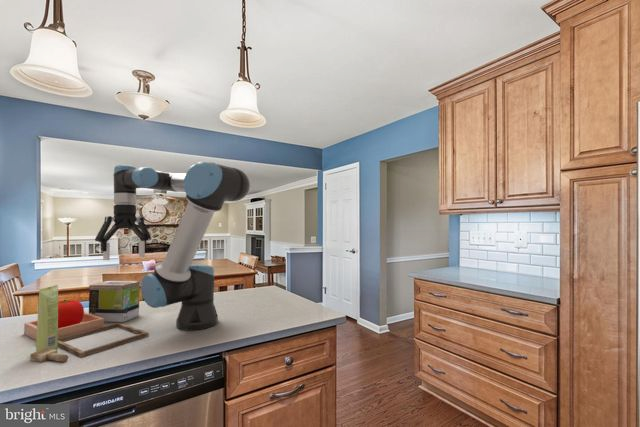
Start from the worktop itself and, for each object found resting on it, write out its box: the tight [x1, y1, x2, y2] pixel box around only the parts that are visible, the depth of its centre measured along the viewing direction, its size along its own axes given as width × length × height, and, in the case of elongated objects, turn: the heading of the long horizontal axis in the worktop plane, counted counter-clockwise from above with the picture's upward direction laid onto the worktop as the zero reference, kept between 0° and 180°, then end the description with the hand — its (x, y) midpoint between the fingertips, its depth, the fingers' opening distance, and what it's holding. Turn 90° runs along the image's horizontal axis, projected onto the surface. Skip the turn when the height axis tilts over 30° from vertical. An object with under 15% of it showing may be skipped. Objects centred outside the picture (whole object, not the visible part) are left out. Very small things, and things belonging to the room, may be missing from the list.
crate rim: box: [57, 322, 149, 358], centre depth 103 cm, size 20×20×1 cm
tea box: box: [88, 280, 141, 323], centre depth 126 cm, size 15×10×15 cm, turn 84°
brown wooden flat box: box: [23, 311, 105, 341], centre depth 110 cm, size 18×17×4 cm
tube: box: [35, 284, 59, 352], centre depth 94 cm, size 6×5×20 cm
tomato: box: [58, 299, 85, 329], centre depth 110 cm, size 11×12×10 cm
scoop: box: [29, 348, 69, 363], centre depth 88 cm, size 10×4×2 cm, turn 75°
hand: (124, 258), depth 120 cm, fingers open, 13 cm apart
